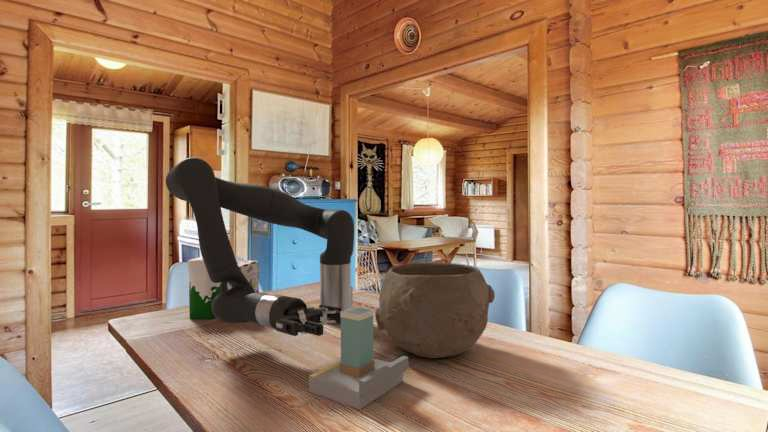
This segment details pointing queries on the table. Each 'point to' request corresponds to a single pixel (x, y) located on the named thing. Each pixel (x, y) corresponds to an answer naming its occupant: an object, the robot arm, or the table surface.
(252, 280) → the candy bar box
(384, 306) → the bowl
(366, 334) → the teal tall block
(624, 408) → the table surface
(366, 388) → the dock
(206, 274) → the milk carton
